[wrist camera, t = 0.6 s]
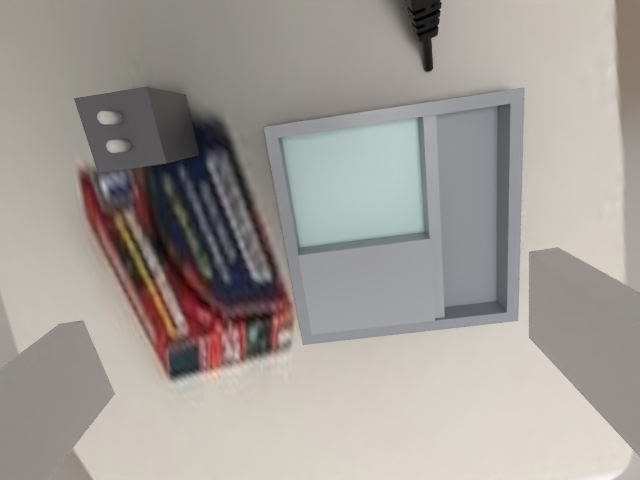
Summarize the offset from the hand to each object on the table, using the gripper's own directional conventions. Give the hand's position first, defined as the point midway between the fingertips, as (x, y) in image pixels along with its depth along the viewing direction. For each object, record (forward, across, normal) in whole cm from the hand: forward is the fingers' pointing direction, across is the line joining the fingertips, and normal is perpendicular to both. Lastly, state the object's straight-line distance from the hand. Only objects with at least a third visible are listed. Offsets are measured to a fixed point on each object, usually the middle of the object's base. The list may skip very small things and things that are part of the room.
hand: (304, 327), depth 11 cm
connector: (+23, -12, +7) cm, 27 cm away
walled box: (+23, +6, -4) cm, 24 cm away
